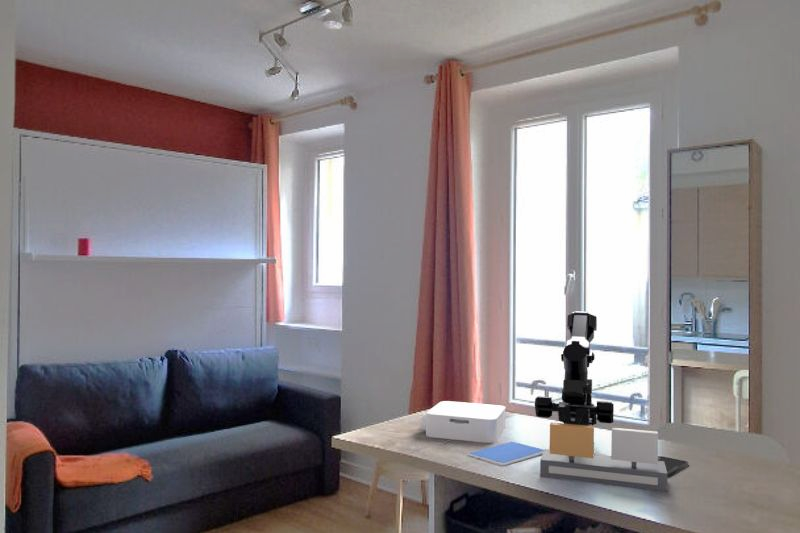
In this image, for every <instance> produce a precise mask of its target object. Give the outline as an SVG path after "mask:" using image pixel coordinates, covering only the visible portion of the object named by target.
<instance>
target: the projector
mask: <svg viewBox="0 0 800 533" xmlns="http://www.w3.org/2000/svg"><path fill="white" fill-rule="evenodd" d="M506 408H507V407H506V406H505V405H500V404H498V405H497V404H491V403H490V404H486V403H477V402H464V401H452V400H442V401H440V402H438V403H436V404H435V405H434V406H433V407H431V408H430V409H429V410H427V411H426V412H423V413H422V416H421V429H422V431H425V436H427V437H428V438H436V439H437V438H438V439H446V440H456V441H467V442H475V443H476V442H477V443H484V444H485V443H486V444H488V443H489V444H491V443H496V442H498V440H499V439H500V437H501V436H502V435H503V433H504V432H505V430H506V410H507V409H506ZM504 429H505V430H504ZM502 432H503V433H502ZM500 435H501V436H500Z"/></svg>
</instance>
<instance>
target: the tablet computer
mask: <svg viewBox="0 0 800 533" xmlns="http://www.w3.org/2000/svg"><path fill="white" fill-rule="evenodd" d="M544 450H545V449H543V448H539V447H535V446H530V445H527V444H524V443H520V442H515V441H508V442H505V443H501V444H498V445H495V446H494V445H493V446H490V447H487V448H483V449H479V450H475V451H472V452H471V451H470V452H468V453H467V454H466V455H467V457H469V458H473V459H476V460H479V461H484V462H487V463H491V464H493V465H496V466H500V467H507V466H509V465H513V464H515V463H518V462H522V461H524V460H528V459H532V458H535V457H539V456H542V455H543V452H544Z"/></svg>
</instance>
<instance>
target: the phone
mask: <svg viewBox="0 0 800 533" xmlns="http://www.w3.org/2000/svg"><path fill="white" fill-rule="evenodd" d="M658 461H664V463H665V466H666V470H667V478H669V477H672V476H673V475H675V474H677V473H678V472H680V471H682V470H684V469H685V468H687V467H688V466H689V462H688V461H686V460H682V459H678V458H677V459H675V458H673V457H672V458H671V457H667V456H662V455H658Z"/></svg>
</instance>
